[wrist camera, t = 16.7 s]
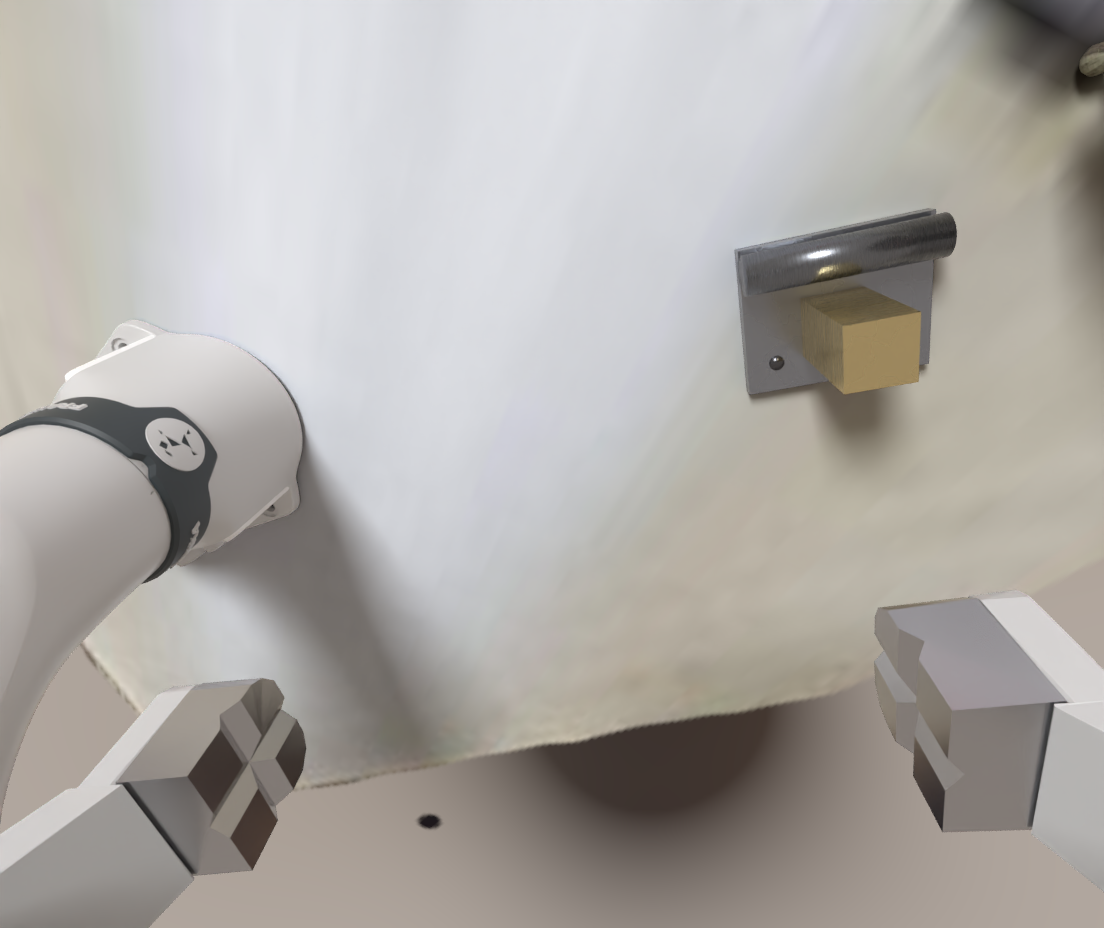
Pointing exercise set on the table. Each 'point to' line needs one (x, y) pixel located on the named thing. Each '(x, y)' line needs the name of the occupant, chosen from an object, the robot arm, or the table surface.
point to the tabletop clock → (1093, 60)
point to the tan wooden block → (861, 339)
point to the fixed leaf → (832, 286)
